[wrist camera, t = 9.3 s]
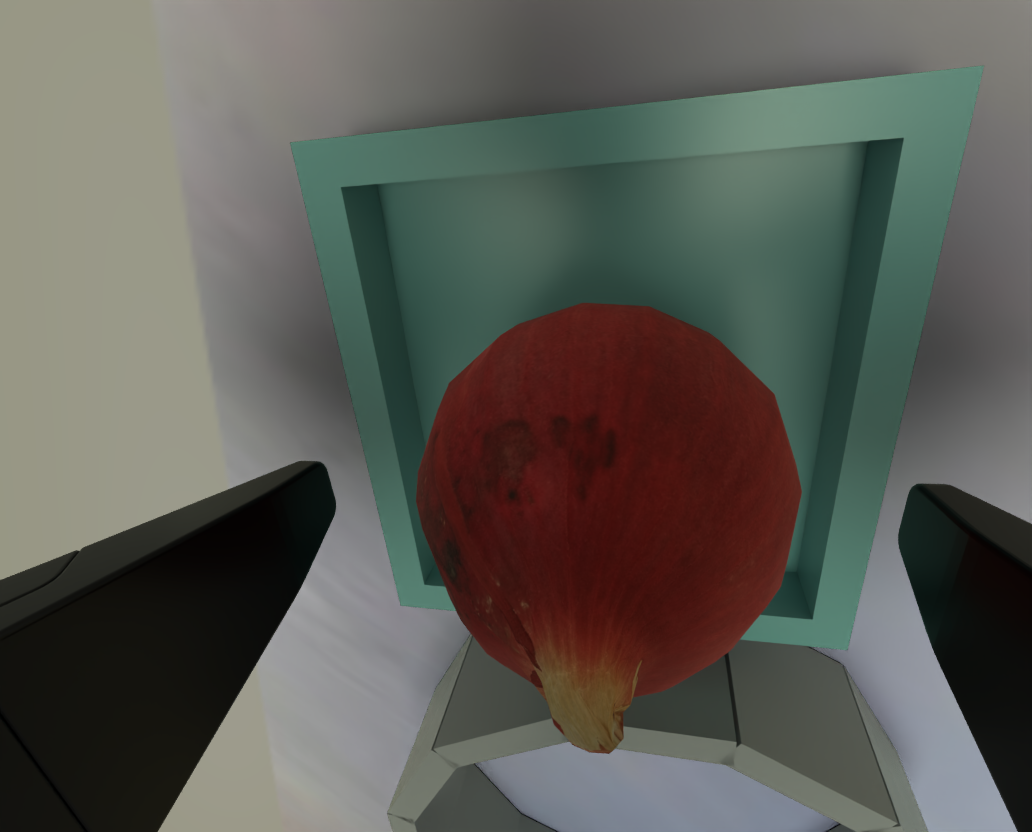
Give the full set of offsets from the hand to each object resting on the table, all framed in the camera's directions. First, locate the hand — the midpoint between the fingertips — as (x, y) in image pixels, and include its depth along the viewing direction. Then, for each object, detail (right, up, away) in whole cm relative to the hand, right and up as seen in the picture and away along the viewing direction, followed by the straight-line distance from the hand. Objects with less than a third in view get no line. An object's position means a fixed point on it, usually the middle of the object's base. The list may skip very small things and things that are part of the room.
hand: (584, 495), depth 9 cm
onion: (+1, +2, +4) cm, 4 cm away
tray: (+1, +2, +4) cm, 5 cm away
